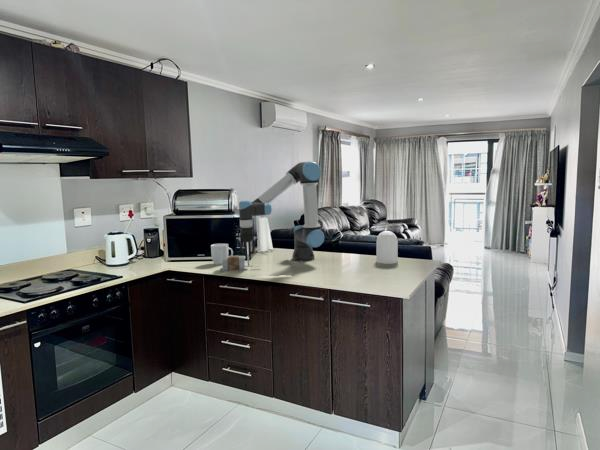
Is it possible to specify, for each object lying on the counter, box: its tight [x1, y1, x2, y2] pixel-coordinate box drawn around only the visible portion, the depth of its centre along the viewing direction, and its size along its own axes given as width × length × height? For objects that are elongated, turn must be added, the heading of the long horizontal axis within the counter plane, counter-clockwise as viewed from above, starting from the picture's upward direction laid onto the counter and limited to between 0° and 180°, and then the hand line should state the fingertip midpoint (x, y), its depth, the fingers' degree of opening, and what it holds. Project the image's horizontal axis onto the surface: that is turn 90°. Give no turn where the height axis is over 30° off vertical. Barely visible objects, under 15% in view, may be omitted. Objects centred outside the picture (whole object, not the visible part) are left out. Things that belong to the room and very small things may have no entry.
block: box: [228, 254, 240, 271], centre depth 248 cm, size 6×6×8 cm
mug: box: [210, 243, 234, 266], centre depth 268 cm, size 15×11×13 cm
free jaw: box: [238, 255, 246, 271], centre depth 249 cm, size 3×8×7 cm, turn 6°
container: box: [375, 230, 399, 265], centre depth 266 cm, size 14×13×20 cm
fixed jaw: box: [221, 256, 229, 272], centre depth 248 cm, size 3×8×7 cm, turn 6°
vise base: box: [218, 265, 261, 274], centre depth 249 cm, size 25×12×2 cm, turn 96°
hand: (248, 265), depth 249 cm, fingers closed
